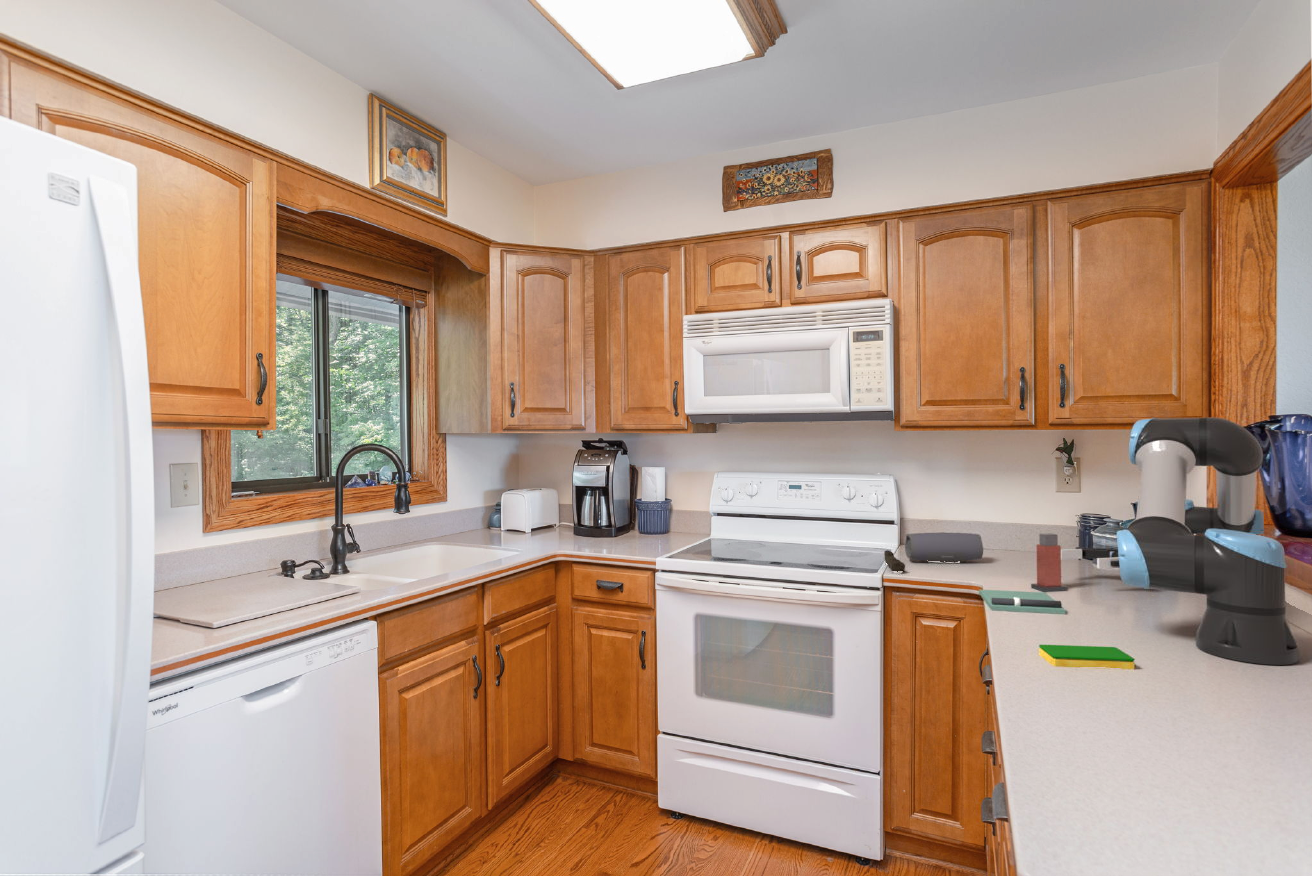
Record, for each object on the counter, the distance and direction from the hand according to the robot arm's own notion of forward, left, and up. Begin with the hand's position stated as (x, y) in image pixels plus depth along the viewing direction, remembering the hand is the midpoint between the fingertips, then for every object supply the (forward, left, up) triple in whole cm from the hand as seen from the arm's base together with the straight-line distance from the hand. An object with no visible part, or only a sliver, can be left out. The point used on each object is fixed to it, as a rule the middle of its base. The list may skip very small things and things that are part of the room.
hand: (1078, 559), depth 187 cm
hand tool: (+18, +49, -8) cm, 52 cm away
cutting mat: (-22, +19, -8) cm, 30 cm away
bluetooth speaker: (+31, +31, -8) cm, 45 cm away
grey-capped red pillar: (-4, +8, -8) cm, 12 cm away
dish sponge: (-67, +17, -9) cm, 70 cm away
